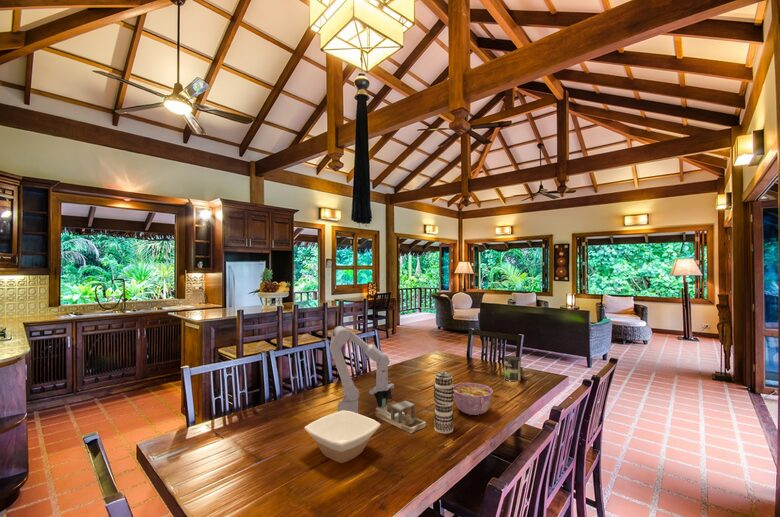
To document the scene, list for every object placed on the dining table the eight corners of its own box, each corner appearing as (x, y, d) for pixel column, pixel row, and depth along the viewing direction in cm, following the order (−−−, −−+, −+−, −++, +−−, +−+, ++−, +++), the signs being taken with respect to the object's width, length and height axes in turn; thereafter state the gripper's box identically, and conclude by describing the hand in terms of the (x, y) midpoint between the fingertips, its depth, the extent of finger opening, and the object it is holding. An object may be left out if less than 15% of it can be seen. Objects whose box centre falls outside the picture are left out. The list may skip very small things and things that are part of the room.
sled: (395, 418, 164) (395, 407, 164) (375, 409, 175) (375, 399, 175) (404, 414, 169) (404, 404, 169) (385, 406, 179) (385, 396, 179)
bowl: (343, 432, 155) (343, 407, 156) (386, 450, 140) (386, 423, 140) (298, 454, 137) (298, 426, 137) (341, 478, 122) (342, 447, 122)
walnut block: (392, 414, 167) (392, 405, 167) (387, 411, 170) (387, 403, 170) (398, 411, 170) (398, 403, 170) (393, 409, 173) (393, 401, 173)
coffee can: (512, 382, 222) (511, 360, 222) (500, 378, 231) (500, 356, 231) (524, 380, 226) (524, 358, 226) (512, 376, 235) (512, 355, 236)
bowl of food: (495, 422, 165) (494, 397, 165) (451, 419, 169) (451, 394, 169) (491, 406, 184) (491, 384, 185) (452, 403, 188) (452, 381, 189)
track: (410, 433, 154) (410, 414, 154) (375, 416, 172) (375, 399, 172) (426, 426, 161) (426, 408, 161) (390, 410, 179) (390, 394, 179)
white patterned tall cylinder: (438, 435, 153) (438, 377, 153) (430, 425, 162) (430, 371, 162) (457, 432, 155) (457, 375, 156) (448, 423, 164) (448, 369, 165)
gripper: (376, 383, 169) (375, 411, 168) (398, 376, 178) (398, 404, 178) (366, 379, 174) (366, 407, 174) (388, 373, 184) (388, 400, 183)
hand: (382, 405), depth 176 cm, fingers closed on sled, 2 cm apart
